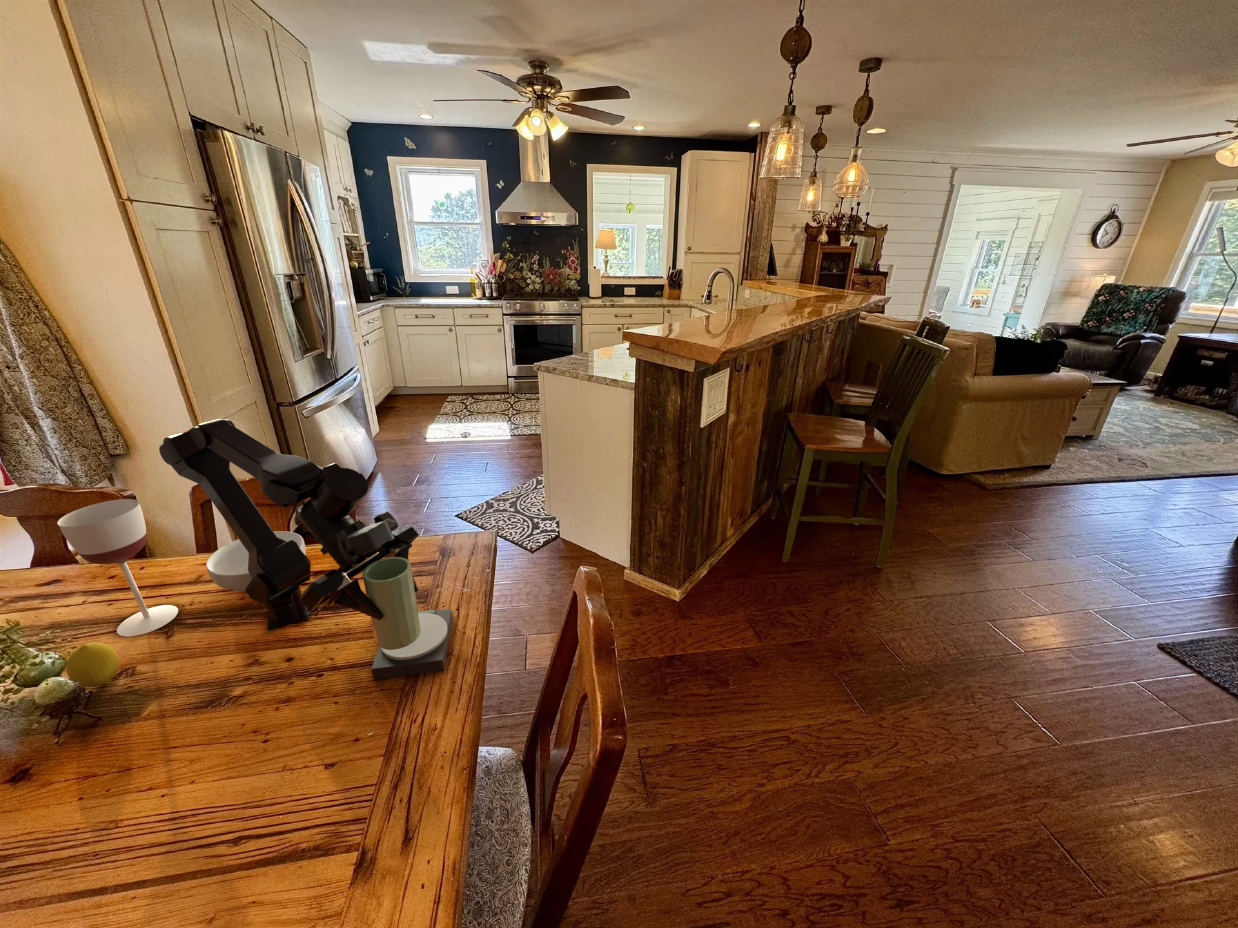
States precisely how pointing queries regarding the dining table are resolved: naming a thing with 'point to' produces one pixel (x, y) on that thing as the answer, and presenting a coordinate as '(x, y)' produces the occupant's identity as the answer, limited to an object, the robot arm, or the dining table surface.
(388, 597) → the tumbler
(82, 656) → the lemon
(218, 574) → the cereal bowl
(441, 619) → the scale
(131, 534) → the wineglass
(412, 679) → the dining table surface
